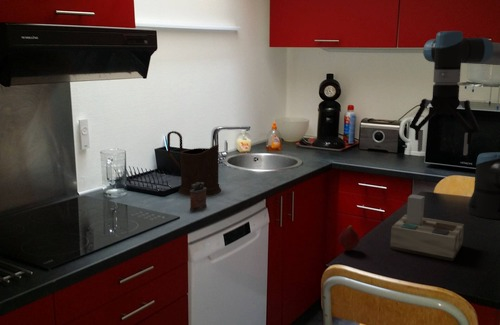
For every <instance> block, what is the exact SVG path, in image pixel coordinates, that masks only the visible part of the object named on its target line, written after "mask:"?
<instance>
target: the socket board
mask: <svg viewBox="0 0 500 325" xmlns="http://www.w3.org/2000/svg"><path fill="white" fill-rule="evenodd" d="M406 220H407V214H404V215H402V217H401V218H399V219H398V220H397V221H396V222H395V223H394V224H393V225H392V226H391V230H390V245H389V246H390V247H389V249H390V250H394V251H397V252H398V251H399V252H403V253H408V254H414V255H419V256H425V257H429V258H434V259H439V260H442V261H443V260H444V261H450V262H453V261H454V260H455V258H456V256H457V255H458V253H459V252H460V250H461V248H462V246H463V240H464V230H465V224H464V223H460V222H453V221H446V220H441V219H437V218H434V219H433V218H428V217H423V224H422V226H420V225H414V224H408V223H406Z"/></svg>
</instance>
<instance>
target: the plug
mask: <svg viewBox="0 0 500 325" xmlns="http://www.w3.org/2000/svg"><path fill="white" fill-rule="evenodd" d="M425 198H426V197H425V195H419V194H410V195H409V196H408V197H407V207H406V215H407V220H406V223H408V224H414V225H420V226H422V224H423V218H424V212H425V211H424V208H425Z"/></svg>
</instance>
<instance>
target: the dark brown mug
mask: <svg viewBox="0 0 500 325" xmlns="http://www.w3.org/2000/svg"><path fill="white" fill-rule="evenodd" d="M171 134H175V135H177V136H178V138H179V149H180V163H179V162H178V161H177V160H176V159H175V157H174V155H172V153H171ZM166 141H167V144H166V145H167V155H168V157H169V158H170V159H171V160H172V161H173V163H174V164H175V165H176V167H178V169H179V170H180V176H181V178H180V179H181V180H180V182H181V183H180V186H179V189H178V192H177V193H178V194H180V195H183V196H187V197H190V190H192V189H194V188H192V184H196V183H197V182H199V183H201V182H203V183H204V187H206V188H207V190H206V197H212V196H216V195H219V194H221V193H222V191H223V190H222V188H221V187H220V183H219V144H215V145H213V146H211V147H209V148H208V147H201V148H200V147H196V148H191V149H187V150H184V148H183V136H182V134H181V133H180V132H178V131H175V130H172V131H170V132H168V133H167V136H166Z"/></svg>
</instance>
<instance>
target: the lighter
mask: <svg viewBox="0 0 500 325" xmlns="http://www.w3.org/2000/svg"><path fill="white" fill-rule="evenodd" d="M192 188H194V189H192V190H190V196H189V197H190V199H189V200H190V203H189V205H190V206H189V211H191V212H197V211H200V210H201V211H202V210H205V209H206V208H207V206H208V205H207V196H206V190H207V188H206V187H204V183H203V182H201V183H199V182H197V183H196V184H192Z"/></svg>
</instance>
